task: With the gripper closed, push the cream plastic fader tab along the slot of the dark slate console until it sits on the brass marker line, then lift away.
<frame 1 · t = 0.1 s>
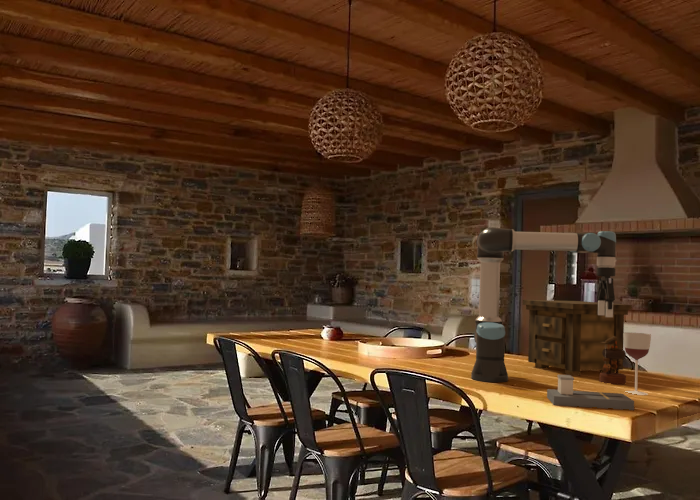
hand: (605, 316, 272), 28 cm above the table, tool pointing down, fingers open, 13 cm apart
wineglass: (636, 393, 245), on the table
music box: (613, 382, 270), on the table
wooden cabinet: (574, 370, 302), on the table
fader tab: (565, 384, 221), point 6 cm above the table, slide at 0.0 cm
fader console: (588, 403, 220), on the table
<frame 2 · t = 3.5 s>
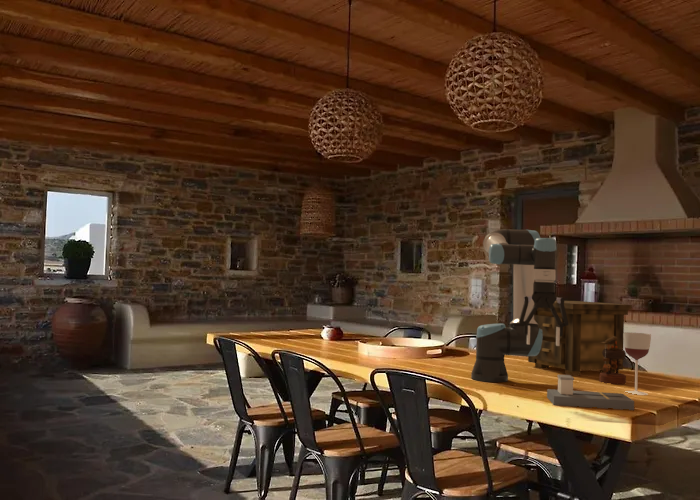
hand: (542, 344, 223), 20 cm above the table, tool pointing down, fingers open, 9 cm apart
nothing on the table moved.
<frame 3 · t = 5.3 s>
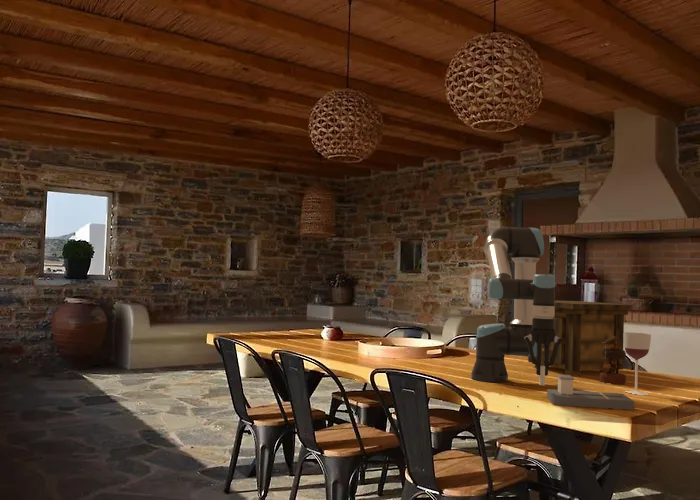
hand: (541, 384, 222), 6 cm above the table, tool pointing down, fingers closed
nothing on the table moved.
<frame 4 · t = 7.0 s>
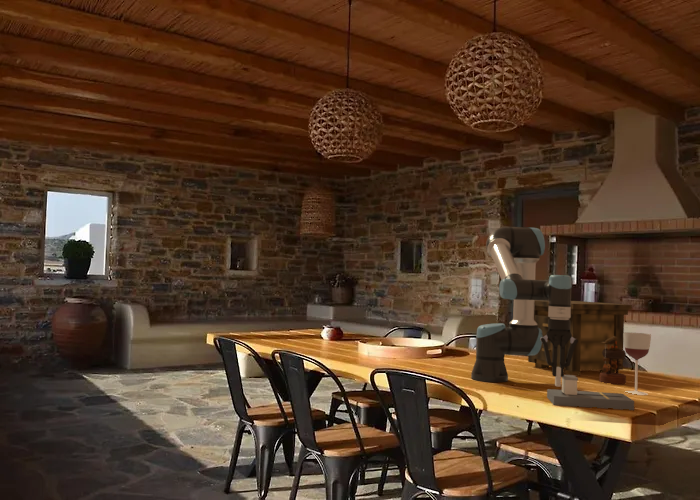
hand: (557, 385, 221), 5 cm above the table, tool pointing down, fingers closed
fader tab: (569, 384, 221), point 6 cm above the table, slide at 1.4 cm, touching gripper
everything else where it was.
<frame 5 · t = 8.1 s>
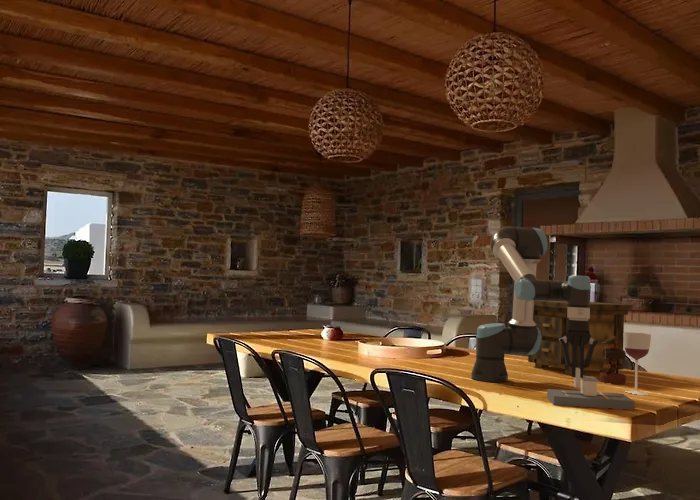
hand: (576, 386, 220), 6 cm above the table, tool pointing down, fingers closed
fader tab: (588, 385, 220), point 6 cm above the table, slide at 7.8 cm, touching gripper
everything else where it was.
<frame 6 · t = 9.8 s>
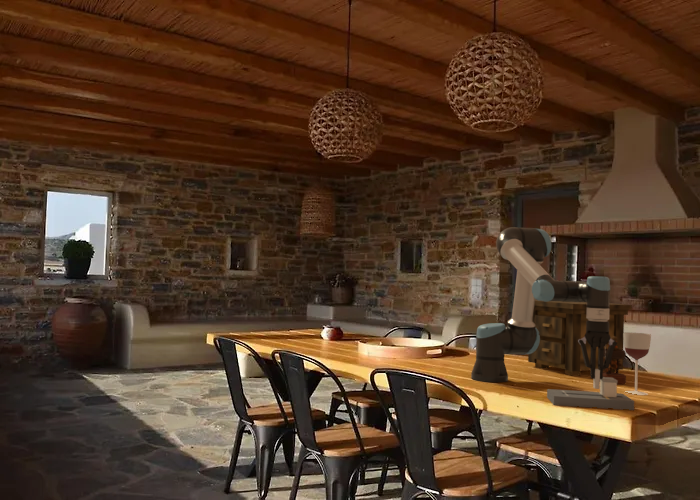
hand: (596, 388, 219), 5 cm above the table, tool pointing down, fingers closed
fader tab: (608, 387, 219), point 6 cm above the table, slide at 14.4 cm, touching gripper
everything else where it was.
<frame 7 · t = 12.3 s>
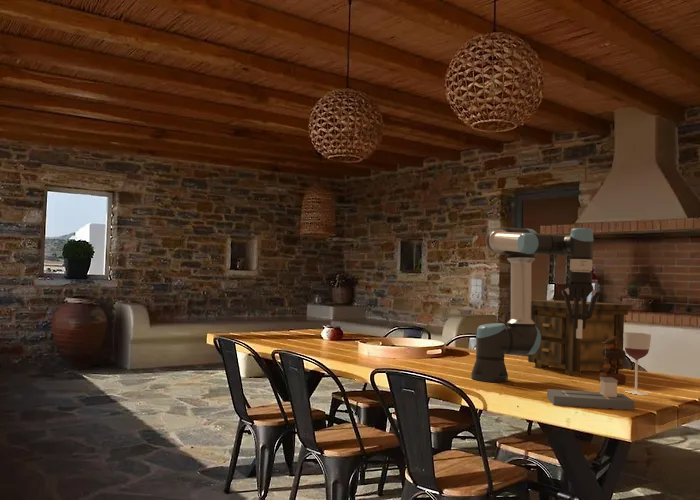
hand: (579, 338, 222), 22 cm above the table, tool pointing down, fingers closed
fader tab: (608, 387, 219), point 6 cm above the table, slide at 14.4 cm
everything else where it was.
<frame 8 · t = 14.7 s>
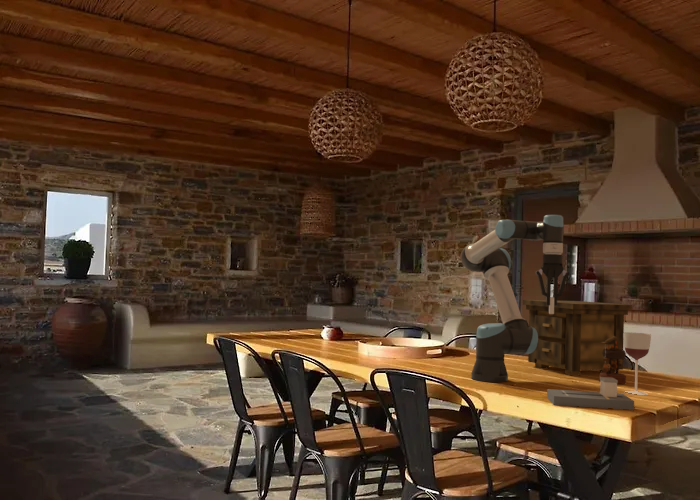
hand: (551, 313, 248), 29 cm above the table, tool pointing down, fingers closed
nothing on the table moved.
at the end: fader tab slide at 14.4 cm; the gripper is holding nothing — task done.
